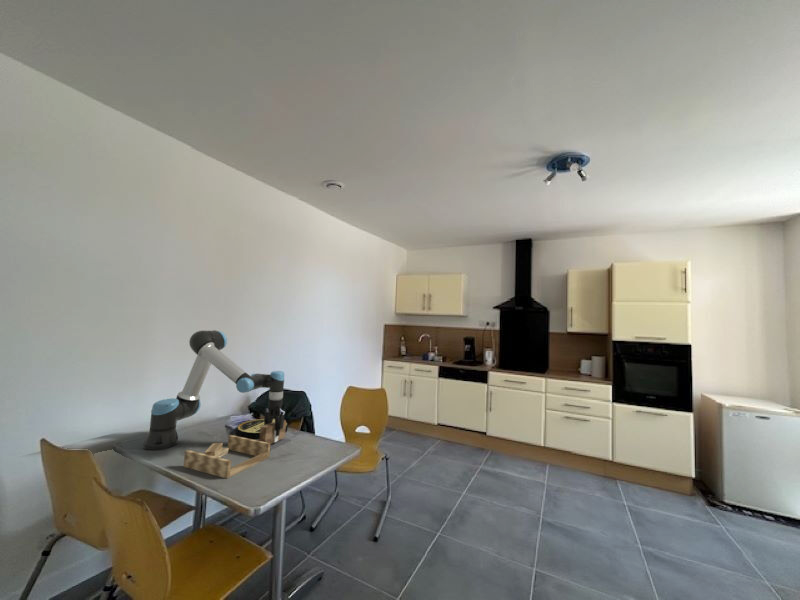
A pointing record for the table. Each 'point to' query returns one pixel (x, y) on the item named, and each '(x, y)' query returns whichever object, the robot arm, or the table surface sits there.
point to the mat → (279, 443)
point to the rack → (223, 465)
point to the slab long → (222, 452)
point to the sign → (252, 429)
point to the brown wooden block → (271, 432)
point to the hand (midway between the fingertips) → (272, 440)
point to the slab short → (214, 449)
